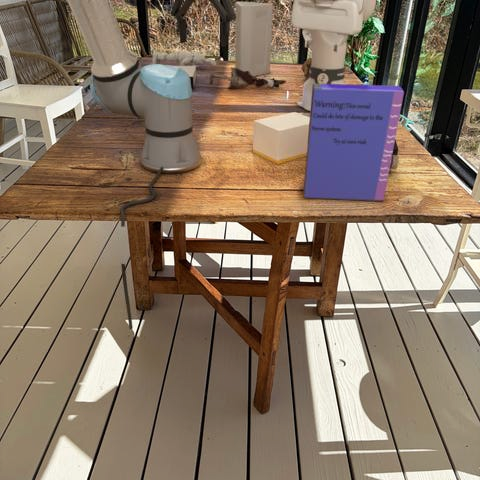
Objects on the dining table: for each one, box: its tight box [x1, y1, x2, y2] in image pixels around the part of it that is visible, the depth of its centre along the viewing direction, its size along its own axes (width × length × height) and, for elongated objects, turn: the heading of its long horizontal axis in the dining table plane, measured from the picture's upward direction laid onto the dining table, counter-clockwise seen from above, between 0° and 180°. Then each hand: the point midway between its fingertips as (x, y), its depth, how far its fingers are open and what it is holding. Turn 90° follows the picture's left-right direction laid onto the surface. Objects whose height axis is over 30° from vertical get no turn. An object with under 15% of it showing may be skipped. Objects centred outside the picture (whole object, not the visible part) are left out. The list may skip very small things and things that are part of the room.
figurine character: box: [388, 138, 399, 176], centre depth 121 cm, size 7×8×15 cm
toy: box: [151, 50, 218, 69], centre depth 224 cm, size 24×25×7 cm
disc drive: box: [174, 65, 197, 91], centre depth 196 cm, size 18×22×5 cm
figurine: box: [209, 66, 287, 89], centre depth 190 cm, size 24×8×30 cm
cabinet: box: [252, 111, 310, 165], centre depth 129 cm, size 14×10×9 cm
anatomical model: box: [301, 56, 312, 81], centre depth 205 cm, size 13×9×15 cm
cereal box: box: [302, 83, 405, 202], centre depth 102 cm, size 17×5×24 cm, turn 86°
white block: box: [234, 1, 274, 77], centre depth 210 cm, size 19×15×28 cm
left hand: (203, 44), depth 142 cm, fingers open, 13 cm apart
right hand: (322, 49), depth 126 cm, fingers open, 8 cm apart
